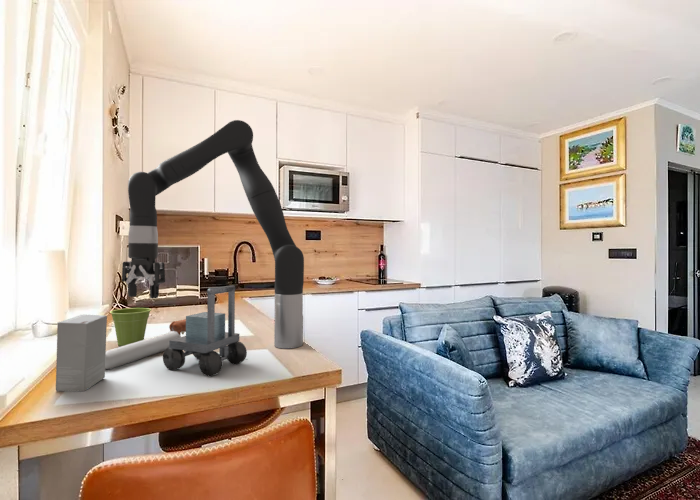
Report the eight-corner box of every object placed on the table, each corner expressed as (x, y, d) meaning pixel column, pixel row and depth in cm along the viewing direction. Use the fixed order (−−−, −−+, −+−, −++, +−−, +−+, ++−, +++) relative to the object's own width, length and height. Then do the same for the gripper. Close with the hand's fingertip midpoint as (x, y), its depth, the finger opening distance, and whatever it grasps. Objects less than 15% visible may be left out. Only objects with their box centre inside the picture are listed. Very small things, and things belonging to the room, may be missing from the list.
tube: (110, 357, 93) (182, 334, 117) (95, 349, 95) (170, 328, 119) (105, 376, 94) (178, 349, 118) (91, 367, 96) (166, 343, 119)
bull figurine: (207, 336, 132) (207, 313, 132) (172, 344, 120) (172, 319, 120) (200, 334, 134) (200, 312, 134) (165, 342, 123) (165, 318, 123)
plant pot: (156, 344, 120) (156, 310, 120) (115, 351, 112) (115, 314, 112) (144, 337, 128) (144, 306, 128) (105, 344, 120) (105, 310, 120)
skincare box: (78, 379, 88) (78, 314, 88) (109, 378, 89) (109, 313, 89) (52, 393, 80) (52, 321, 80) (87, 392, 80) (87, 320, 80)
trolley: (197, 356, 107) (197, 282, 107) (248, 363, 101) (248, 285, 101) (160, 369, 95) (160, 286, 95) (216, 378, 89) (216, 290, 89)
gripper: (172, 242, 107) (172, 297, 107) (137, 242, 112) (136, 294, 112) (150, 241, 100) (150, 300, 100) (113, 241, 105) (113, 297, 105)
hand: (143, 297), depth 106 cm, fingers open, 8 cm apart
